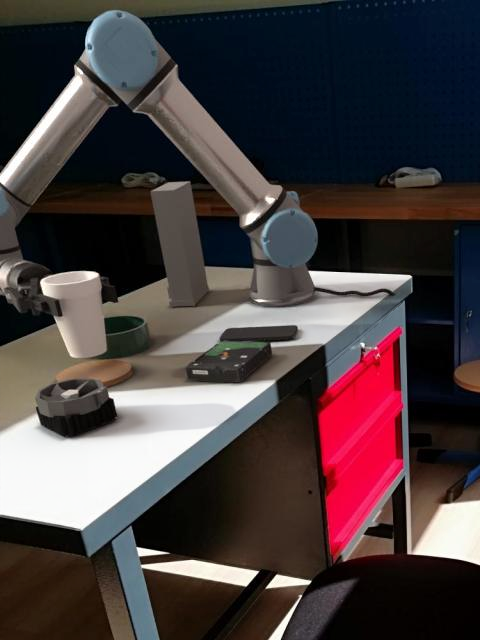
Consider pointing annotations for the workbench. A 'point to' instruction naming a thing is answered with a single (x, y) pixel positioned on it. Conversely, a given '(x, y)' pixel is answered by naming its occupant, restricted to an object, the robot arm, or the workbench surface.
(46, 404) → the cpu cooler
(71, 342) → the foam cup
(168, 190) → the tall grey upright pillar
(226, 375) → the disk drive
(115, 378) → the pot holder
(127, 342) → the pot
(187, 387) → the workbench surface
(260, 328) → the phone
